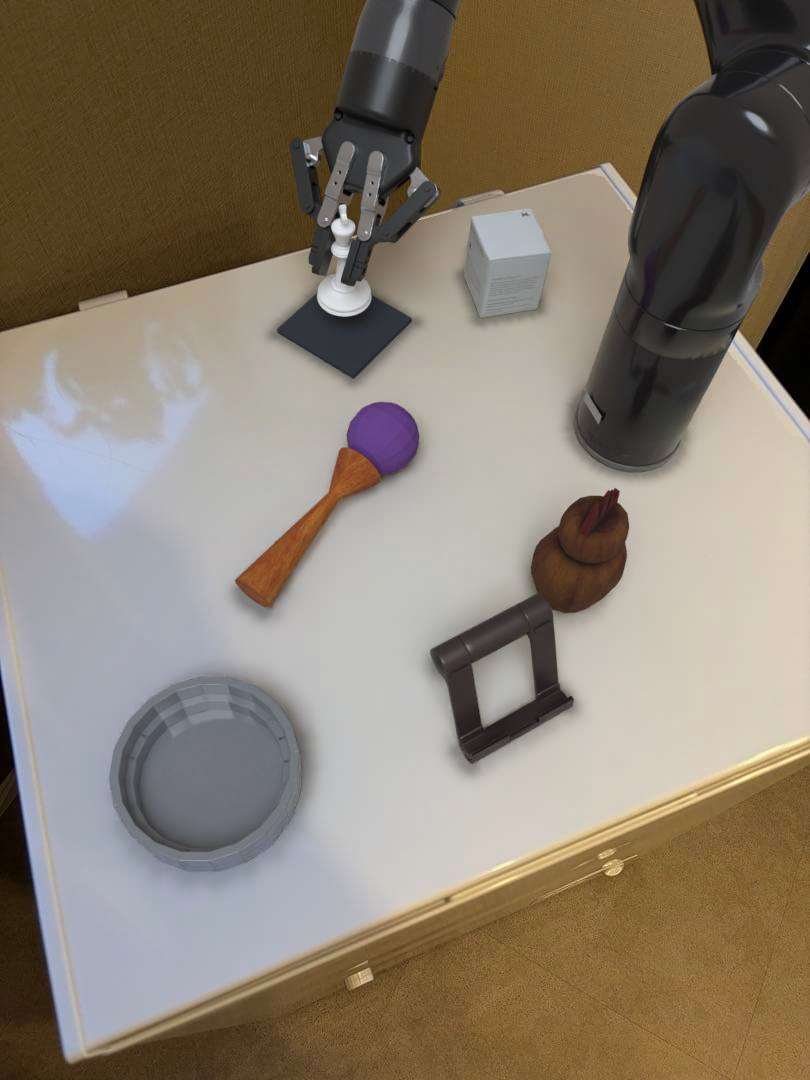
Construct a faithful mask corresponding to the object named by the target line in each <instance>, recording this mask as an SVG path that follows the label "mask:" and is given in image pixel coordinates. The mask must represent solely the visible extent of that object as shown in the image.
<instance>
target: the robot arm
mask: <svg viewBox="0 0 810 1080" xmlns="http://www.w3.org/2000/svg"><path fill="white" fill-rule="evenodd" d="M462 1H463V0H366V1H365V3H364V6H363V8H362V11H361V13H360V16H359V19H358V22H357V26H356V29H355V32H354V36H353V39H352V43H351V45H350V46H351V47H350V50H349V54H348V57H347V61H346V65H345V68H344V72H343V75H342V79H341V81H340V82H341V83H340V88H339V90H338V93H337V98H336V101H335V104H334V108H333V115H332V118H331V119H330V122H328V124H327V125H326V126H325V128H324V129H323V130H322V133H321V135H320V136H315V137H312V138H307V139H301V138H300V137H293V138H292V139H291V140H290V142H289V150H290V156H291V161H292V162H291V163H292V168H293V173H294V179H295V184H296V192H297V196H298V202H299V208H300V210H301V211H302V212H303V213H305V214H306V215H307V216H309V217H310V218H311V219H312V220H313V221H314V222H315V226H316V228H315V233H314V236H313V240H312V243H311V247H310V251H309V253H308V258H307V259H308V265H310V266H311V273H312V274H314V275H317V276H321V277H325V278H326V277H327V276H328V272H329V268H330V266H331V262H332V259H333V256H334V255H333V253H332V251H331V247H332V244H333V243H334V242H335V241H336V239H335V236H334V234H333V232H332V229H331V225H332V223H333V221H335V220H336V219H339V218H340V213H339V206H340V205H344V204H345V205H346V209H347V208H348V207H349V206H350V204H351V202H352V200H353V197H354V195H355V194H360V195H362V196H361V200H360V216H359V220H358V226H357V230H356V238H355V239H354V238H352V239H351V241H352V243H351V246H350V249H349V253H348V256H347V260H346V263H345V266H344V270H343V273H342V277H341V283H342V284H345V285H348V286H352V287H354V286H355V284H356V281H360V282H361V281H362V279H365V277H366V273H367V271H368V267H369V263H370V261H371V256H372V253H373V250H374V248H375V247H376V245H378V244H380V243H391V244H396V243H398V242H399V241H400V240H401V238H403V237H404V236H405V235H406V233H408V231H409V230H410V229H411V228H412V227H413V226H414V225H415V224H416V223H417V222H418V221H419V220H420V219H421V218H422V217H423V216H424V215H425V214H426V213H427V212H428V210H430V209H431V208H432V207H433V205H434V204H436V202H437V201H438V200H439V199H440V198H441V195H442V191H441V189H440V187H438V185H436V183H434V182H432V181H431V180H430V179H429V178H428V176H426V175H425V173H424V172H423V171H422V170H421V163H422V162H421V155H420V151H421V145H422V141H423V139H424V135H425V132H426V129H427V126H428V122H429V119H430V116H431V114H432V113H431V112H432V109H433V106H434V103H435V100H436V97H437V94H438V91H439V86H440V83H441V81H442V80H443V78H444V74H445V71H446V63H447V61H448V56H449V53H450V49H451V43H452V39H453V38H452V37H453V32H454V27H455V24H456V20H457V17H458V13H459V10H460V8H461V5H462ZM692 1H693V4H694V7H695V11H696V14H697V18H698V21H699V24H700V29H701V32H702V36H703V39H704V44H705V47H706V48H705V49H706V53H707V58H708V63H709V69H710V75H711V76H710V77H708V78H707V79H706V80H704V81H703V82H702V83H701V84H699V85H697V86H696V87H695V88H693V89H692V90H691V91H689V92H688V93H687V94H686V95H684V96H683V97H682V98H681V99H680V100H679V101H678V102H677V103H676V104H674V106H672V108H671V110H670V111H669V112H668V114H666V117H665V118H664V120H663V122H662V124H661V125H660V127H659V129H658V132H657V134H656V136H655V139H654V141H653V144H652V146H651V150H650V151H649V152H650V153H649V156H648V157H647V162H646V166H645V169H644V171H643V175H642V179H641V183H640V186H639V189H638V194H637V197H636V200H635V205H634V208H633V211H632V215H631V219H630V223H629V226H628V232H627V248H628V249H627V250H628V254H629V258H628V261H627V265H626V268H625V271H624V274H623V277H622V280H621V282H620V286H619V289H618V291H617V295H616V298H615V301H614V304H613V307H612V310H611V313H610V316H609V317H608V321H607V324H606V327H605V330H604V333H603V336H602V337H601V338H602V339H601V342H600V345H599V346H598V350H597V354H596V356H595V359H594V362H593V365H592V368H591V370H590V373H589V377H588V379H587V382H586V384H585V388H584V391H583V393H582V395H581V399H580V400H579V403H578V405H577V408H576V409H575V413H574V418H573V426H574V432H575V435H576V438H577V440H578V442H579V443H580V445H581V446H582V448H583V449H584V450H585V451H586V452H587V453H588V454H589V455H590V456H591V457H592V458H594V459H595V460H596V461H598V462H599V463H601V464H603V465H605V466H607V467H610V468H612V469H615V470H619V471H622V472H623V471H624V472H632V473H635V472H636V473H638V472H640V473H641V472H648V471H651V470H654V469H657V468H659V467H661V466H663V465H665V464H666V463H668V462H669V461H670V460H671V459H672V458H673V456H674V455H675V453H676V452H677V450H678V448H679V447H680V444H681V440H682V438H683V436H684V434H685V432H686V430H687V429H688V426H689V425H690V423H691V421H692V419H693V417H694V415H695V414H696V412H697V410H698V408H699V407H700V404H701V402H702V400H703V398H704V396H705V394H706V393H707V391H708V389H709V387H710V386H711V383H712V382H713V379H714V377H715V376H716V374H717V372H718V370H719V368H720V366H721V364H722V362H723V361H724V358H725V356H726V355H727V352H728V351H729V349H730V346H731V345H732V343H733V341H734V339H735V337H736V335H737V333H738V331H739V329H740V327H741V325H742V324H743V322H744V320H745V318H746V316H747V314H748V312H749V311H750V309H751V308H752V305H753V304H754V301H755V300H756V297H757V296H758V294H759V292H760V289H761V288H762V285H763V282H764V279H765V263H764V259H763V258H764V255H765V253H766V250H768V249H767V248H768V247H769V245H770V243H771V240H772V239H773V236H774V235H775V233H776V231H777V230H778V227H779V226H780V224H781V222H782V220H783V219H784V217H785V215H786V213H787V212H789V210H790V209H791V208H792V207H794V206H795V205H796V204H797V203H798V202H799V201H801V199H802V198H803V197H804V196H806V195H807V194H808V193H809V192H810V0H692ZM323 154H324V155H325V158H326V162H327V165H328V169H329V173H330V177H329V180H328V183H327V185H326V188H325V190H324V199H322V194H321V188H320V182H319V176H318V170H317V168H318V167H319V166H320V165H321V163H322V155H323ZM409 181H410V184H409V186H408V187H407V191H406V194H407V196H408V198H406V199H405V201H404V202H403V203H402V204H401V205H400V206H399V207H398V208H397V210H395V211H394V213H393V214H392V215H391V216H390V217H389V218H388V219H387V220H386V221H385V222H384V223H383V219H384V217H386V216H385V215H386V212H387V208H388V203H389V200H390V199H389V198H390V196H392V195H393V194H394V193H395V192H397V191H398V190H399V189H401V187H403V186H404V185H406V183H407V182H409ZM322 200H323V201H322Z"/></svg>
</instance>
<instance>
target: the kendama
mask: <svg viewBox="0 0 810 1080" xmlns="http://www.w3.org/2000/svg"><path fill="white" fill-rule="evenodd" d="M345 435H346V443H347V446H346V447H340V449H339V450H338V453H337V456H336V461H335V465H334V467H333V468H334V469H333V473H332V475H331V479H330V484H329V488H328V492H327V493H326V494H325V495H323V497H322V498H321V499H320V500H319V501H317V503H315V504H314V506H312V507H311V508H310V509H309V510H308V511H307V512H306V513H305V514H303V516H301V518H299V519H298V520H297V521H296V522H295V523H294V524H293V525H292V526H290V528H289V529H288V530H287V531H285V533H283V534H282V535H281V536H280V537H279V538H278V539H277V540H276V541H275V542H274V543H273V544H271V546H270V547H268V548H267V549H266V550H265V551H264V552H263V553H262V554H261V555H260V556H259V557H258V558H256V559H255V560H254V561H253V562H252V563H251V564H250V565H249V566H248V567H247V568H246V569H244V571H242V573H240V575H238V576H237V577H236V578H235V579H234V582H235V584H236V585H237V587H238V588H239V589H240V591H242V592H243V594H245V595H246V596H247V597H248V598H250V599H251V600H252V601H254V602H255V603H256V604H258V605H260V606H261V607H264V608H266V609H268V608H270V607H271V605H272V604H273V602H274V601H275V600H276V597H277V596H278V594H279V593H280V592H281V590H282V588H283V587H284V585H285V584H286V582H287V581H288V580H289V578H290V576H291V575H292V573H293V572H294V570H295V569H296V567H297V566H298V564H299V562H300V561H301V560H302V559H303V557H304V556H305V554H306V552H307V550H308V549H309V547H310V546H311V544H312V543H313V542H314V540H315V539H316V537H317V535H318V534H319V532H320V531H321V529H322V528H323V526H324V525H325V523H326V522H327V520H328V519H329V517H330V516H331V514H332V512H333V511H334V510H335V508H336V507H337V505H338V504H339V502H340V501H342V500H345V499H348V498H350V497H352V496H354V495H356V494H358V493H361V492H363V491H365V490H367V489H370V488H372V487H375V486H376V485H378V484H380V482H381V475H393V474H396V473H397V472H399V471H401V470H404V469H405V468H406V467H407V466H408V465H409V464H410V462H411V461H412V460H413V459H414V458H415V457H416V455H417V453H418V448H419V446H420V445H419V444H420V432H419V429H418V424H417V422H416V419H415V418H414V417H413V415H412V414H411V413H410V412H409V411H408V410H407V409H406V408H405V407H402V406H401V405H399V404H398V403H394V402H389V401H377V402H371V403H370V404H368V405H365V406H363V407H361V408H360V410H359V411H358V412H357V413H356V414H355V415H354V417H353V418H352V419H351V421H350V422H349V425H348V428H347V430H346V434H345Z"/></svg>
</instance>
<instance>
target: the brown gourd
mask: <svg viewBox="0 0 810 1080" xmlns="http://www.w3.org/2000/svg"><path fill="white" fill-rule="evenodd" d="M620 493H621V491H620V490H619V489H618V488H616V487H614V488H613V489H611V490H610V489H607V491H606V492H605V494H604V495H587V496H583V497H582V496H581V497H580V498H578V499H577V500H576V501H574V502H573V503H571V504H570V505H569V506H568V507H567V509H565V511H564V512H563V514H562V515H561V517H560V520H559V524H558V526H557V527H554V529H552V530H551V531H550V532H548V533H547V534H546V535H544V537H542V538H541V539H540V540H539V542H538V543H537V545H536V546H535V548H534V551H533V554H532V558H531V563H530V575H531V579H532V581H533V584H534V588H535V591H536V594H541V595H542V596H543V597H544V598H545V599H546V600H547V601H548V603H549V605H550V607H551V609H552V611H556V612H560V613H563V614H573V613H578V612H581V611H585V610H587V609H589V608H590V607H592V606H593V605H596V604H597V603H599V602H601V600H603V599H604V598H605V597H606V596H608V594H609V593H610V592H611V591H612V590H613V589H614V588H615V587H617V586H618V585H619V583H620V581H621V579H622V578H623V574H624V572H625V568H626V564H627V560H628V549H627V546H626V542H627V539H628V535H629V531H630V521H629V513H628V512H627V510H625V508H624V507H623V506H622V504H621V503H619V497H620Z"/></svg>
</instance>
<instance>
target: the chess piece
mask: <svg viewBox="0 0 810 1080" xmlns="http://www.w3.org/2000/svg"><path fill="white" fill-rule="evenodd" d="M339 213H340V218H339V219H336V220H335V221H333V223H332V225H331V229H332V232H333V234H334V236H335V239H336V241H335V242H334V243H333V244H332V247H331V251H332V253H333V256H334V257H336V258H337V260H336V270H335V272H334V273H331V274H329V275H326V276H325V278H323V279H322V280H321V281H320V283H319V285H318V287H317V292H316V294H317V300H318V303H319V305H320V306H321V307H322V308H323V309H324V310H325V311H327V312H328V313H330V314H333V315H336V316H342V317H347V316H353V315H357V314H359V313H361V312H363V311H364V310H365V309H366V308H367V307H368V306H369V304H370V302H371V298H372V296H371V295H372V291H371V286H370V284H369V282H368V281H367V280H366V279H365V278H363V279H362V281H361V282H360V281H356V284H355V286H354V287H352V286H348V285H345V284H342V283H341V277H342V273H343V270H344V266H345V263H346V260H347V256H348V253H349V249H350V246H351V243H352V239H353V236H354V234H355V232H356V224H355V222H354V221H353V220H351V219H350V218H348V216H347V208H346V205H345V204H344V205H340V206H339Z"/></svg>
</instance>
